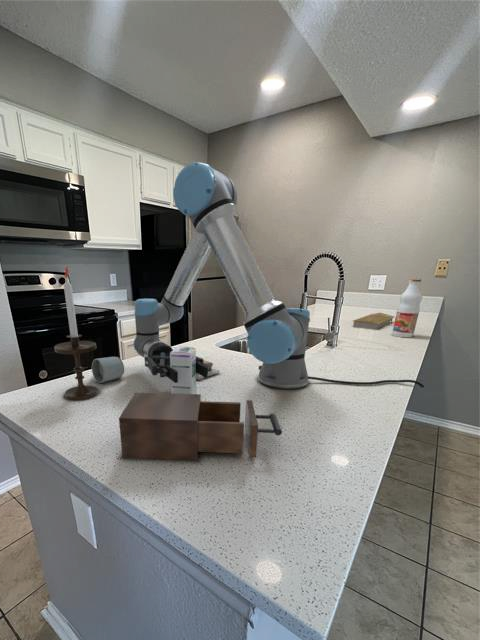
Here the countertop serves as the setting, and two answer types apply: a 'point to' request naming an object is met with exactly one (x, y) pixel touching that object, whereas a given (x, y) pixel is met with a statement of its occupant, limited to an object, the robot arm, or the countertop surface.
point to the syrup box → (184, 370)
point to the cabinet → (160, 426)
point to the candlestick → (75, 349)
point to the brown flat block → (373, 321)
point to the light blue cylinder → (107, 369)
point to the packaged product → (210, 370)
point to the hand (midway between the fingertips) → (191, 374)
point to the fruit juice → (408, 310)
